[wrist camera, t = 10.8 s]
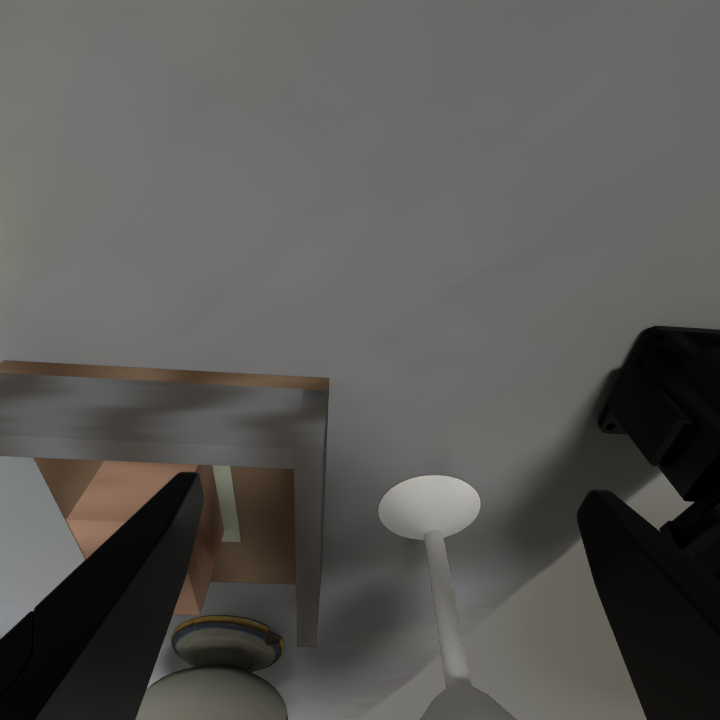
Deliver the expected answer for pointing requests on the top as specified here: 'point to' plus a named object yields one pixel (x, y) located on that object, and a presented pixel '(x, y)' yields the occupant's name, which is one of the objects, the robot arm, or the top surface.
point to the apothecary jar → (218, 674)
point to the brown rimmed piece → (190, 453)
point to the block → (128, 494)
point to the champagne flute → (442, 581)
